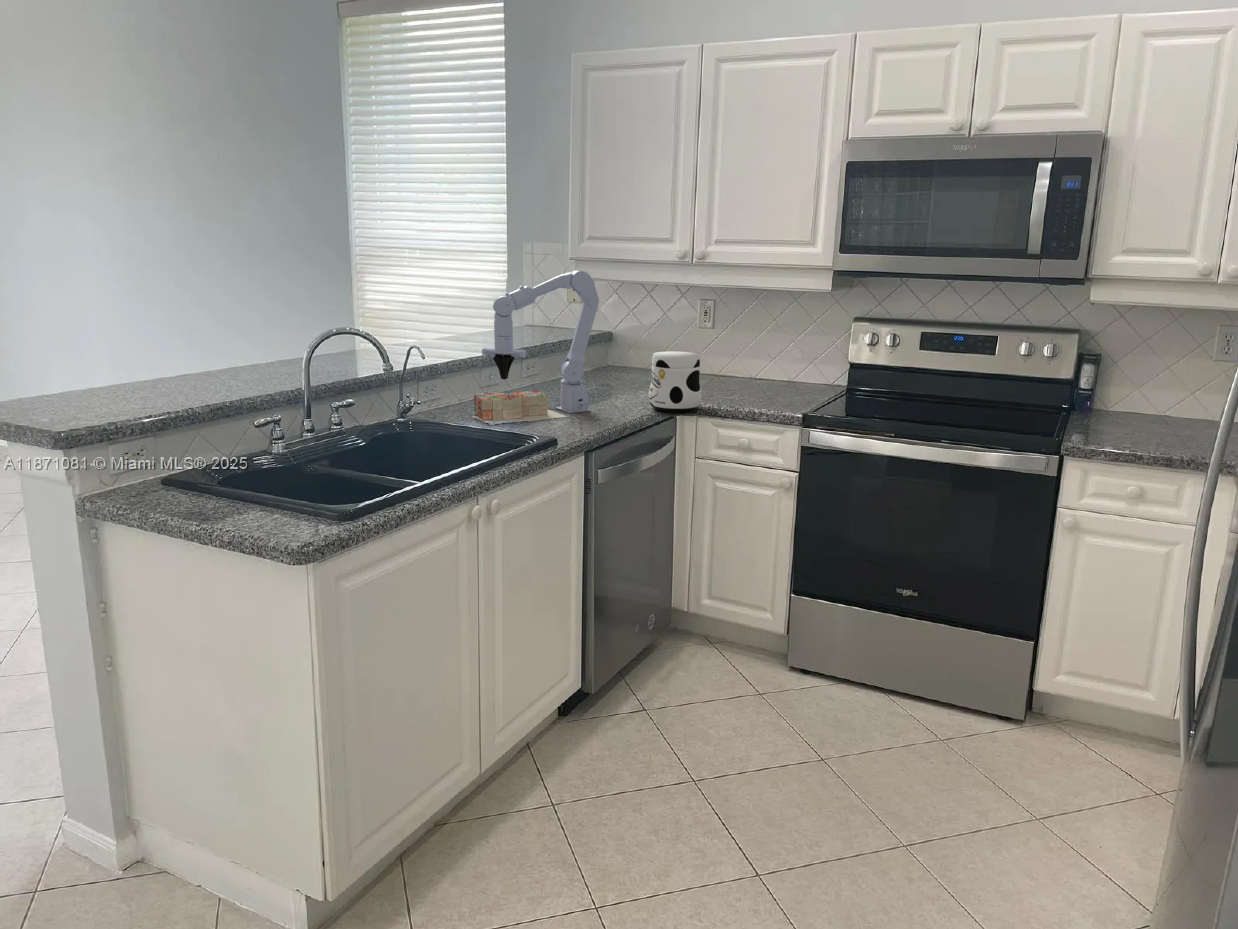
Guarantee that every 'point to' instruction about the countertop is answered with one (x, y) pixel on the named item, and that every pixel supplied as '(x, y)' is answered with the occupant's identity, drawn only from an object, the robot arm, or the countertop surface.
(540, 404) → the stack of blocks
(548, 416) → the mat
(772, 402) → the countertop surface
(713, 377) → the countertop surface
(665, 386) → the milk container
